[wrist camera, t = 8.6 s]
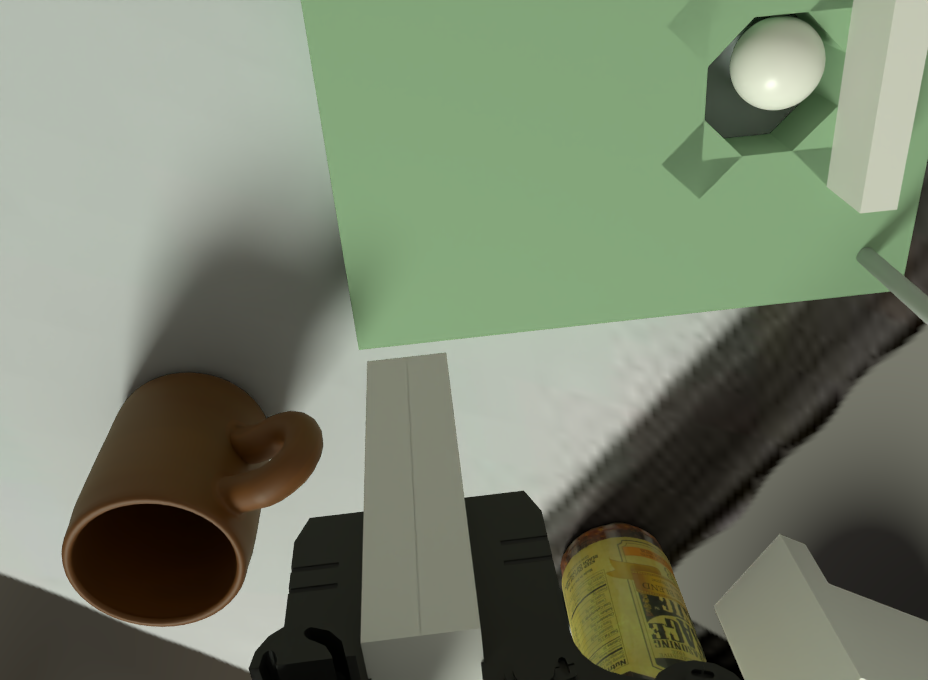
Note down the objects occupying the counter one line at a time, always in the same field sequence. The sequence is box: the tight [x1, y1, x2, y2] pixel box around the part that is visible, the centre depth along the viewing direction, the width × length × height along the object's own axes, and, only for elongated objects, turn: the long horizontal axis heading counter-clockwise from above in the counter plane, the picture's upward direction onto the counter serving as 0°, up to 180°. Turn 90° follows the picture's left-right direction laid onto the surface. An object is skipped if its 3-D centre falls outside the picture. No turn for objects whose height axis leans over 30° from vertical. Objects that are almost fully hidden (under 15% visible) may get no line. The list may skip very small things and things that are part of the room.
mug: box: [62, 372, 323, 627], centre depth 39 cm, size 12×8×9 cm, turn 123°
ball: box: [730, 16, 826, 110], centre depth 35 cm, size 4×4×4 cm
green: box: [301, 0, 928, 350], centre depth 29 cm, size 22×25×18 cm
